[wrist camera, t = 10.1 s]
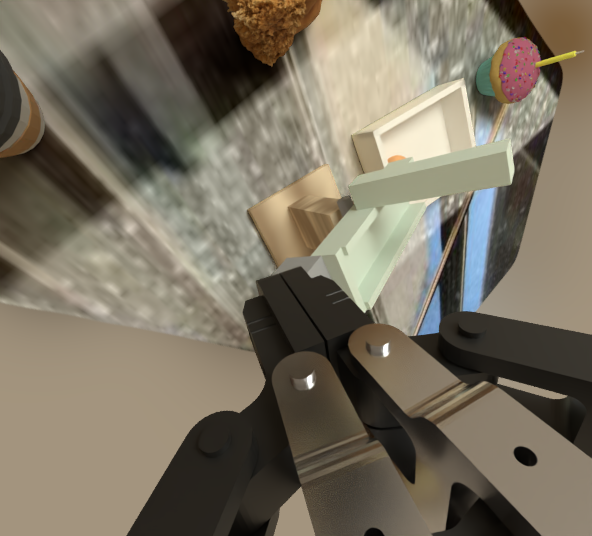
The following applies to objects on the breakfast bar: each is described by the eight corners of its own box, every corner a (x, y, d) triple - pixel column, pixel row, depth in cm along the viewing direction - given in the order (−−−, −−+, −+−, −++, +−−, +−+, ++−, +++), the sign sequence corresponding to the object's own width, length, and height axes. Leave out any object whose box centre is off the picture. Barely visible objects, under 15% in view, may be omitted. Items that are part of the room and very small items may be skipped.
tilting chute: (297, 352, 29) (506, 387, 19) (245, 262, 25) (478, 246, 15) (386, 219, 43) (531, 199, 33) (362, 148, 39) (521, 101, 29)
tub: (380, 220, 50) (401, 224, 46) (351, 135, 44) (372, 131, 40) (454, 169, 54) (480, 168, 50) (436, 85, 48) (463, 78, 45)
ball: (377, 157, 45) (403, 150, 43) (388, 160, 48) (413, 154, 46) (379, 183, 46) (405, 178, 43) (390, 185, 48) (415, 180, 46)
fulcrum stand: (282, 275, 45) (323, 302, 35) (247, 209, 40) (284, 220, 31) (349, 229, 48) (405, 243, 38) (324, 164, 44) (379, 161, 34)
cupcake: (500, 40, 52) (594, 7, 41) (506, 97, 55) (593, 80, 45) (462, 59, 49) (552, 28, 39) (471, 117, 53) (555, 103, 43)
